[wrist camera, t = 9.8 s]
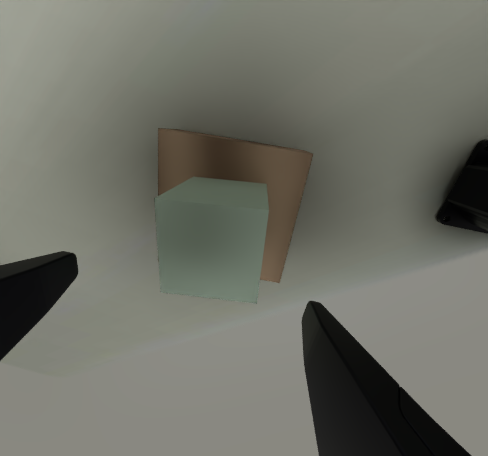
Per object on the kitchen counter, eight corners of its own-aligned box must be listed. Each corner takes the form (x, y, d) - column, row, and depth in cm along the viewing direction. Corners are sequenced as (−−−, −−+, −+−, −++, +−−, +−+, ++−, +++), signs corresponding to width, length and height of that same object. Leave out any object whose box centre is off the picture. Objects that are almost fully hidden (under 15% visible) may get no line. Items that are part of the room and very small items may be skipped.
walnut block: (303, 150, 18) (313, 154, 14) (277, 257, 22) (279, 282, 18) (179, 129, 18) (158, 128, 14) (175, 240, 22) (158, 261, 18)
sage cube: (266, 183, 15) (268, 209, 10) (258, 249, 17) (256, 303, 11) (193, 176, 15) (154, 198, 10) (193, 242, 17) (160, 292, 12)
